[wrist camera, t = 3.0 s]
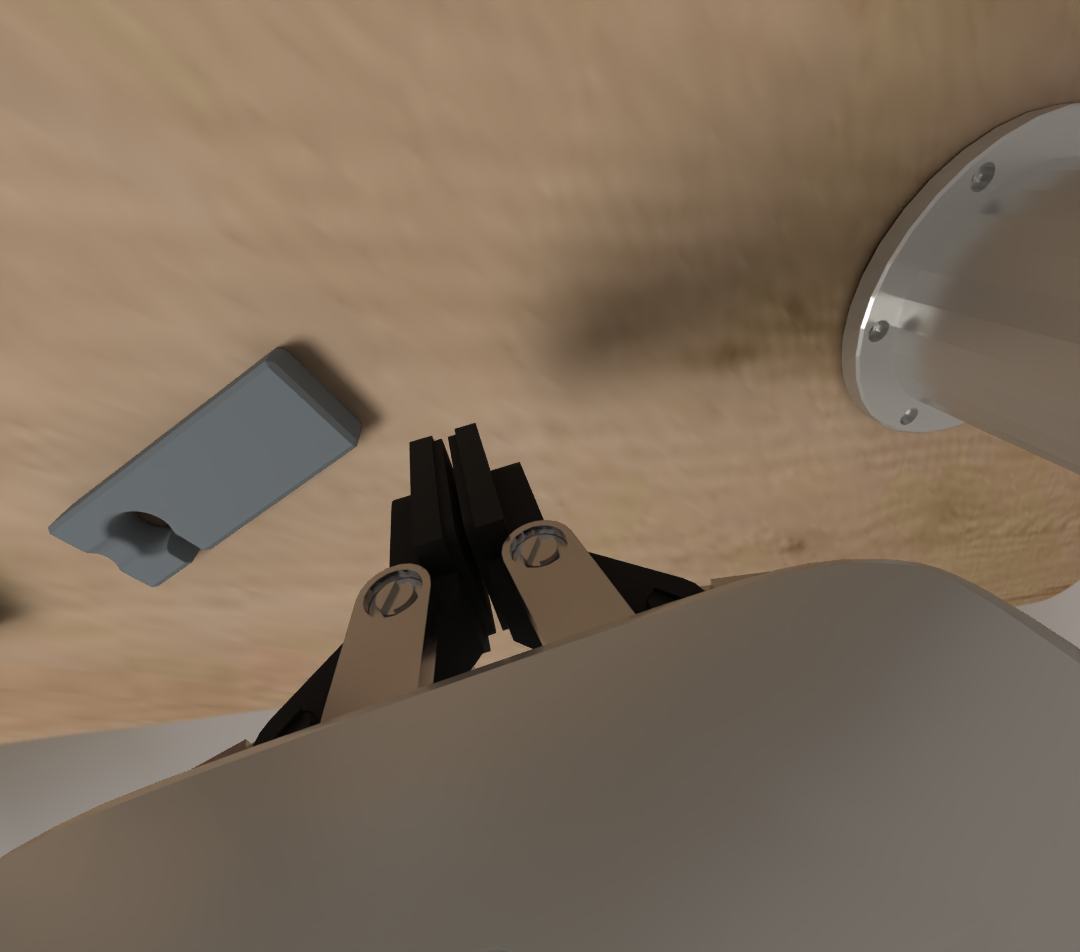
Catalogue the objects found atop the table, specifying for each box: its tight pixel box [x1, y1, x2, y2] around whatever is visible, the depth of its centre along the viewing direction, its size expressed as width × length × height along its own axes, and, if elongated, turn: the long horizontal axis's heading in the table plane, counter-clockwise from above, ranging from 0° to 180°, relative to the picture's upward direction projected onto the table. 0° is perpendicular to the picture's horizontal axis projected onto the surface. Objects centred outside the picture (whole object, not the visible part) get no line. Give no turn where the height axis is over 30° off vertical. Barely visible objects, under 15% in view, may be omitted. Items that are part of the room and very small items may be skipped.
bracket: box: [48, 348, 361, 587], centre depth 17 cm, size 4×10×2 cm, turn 122°
